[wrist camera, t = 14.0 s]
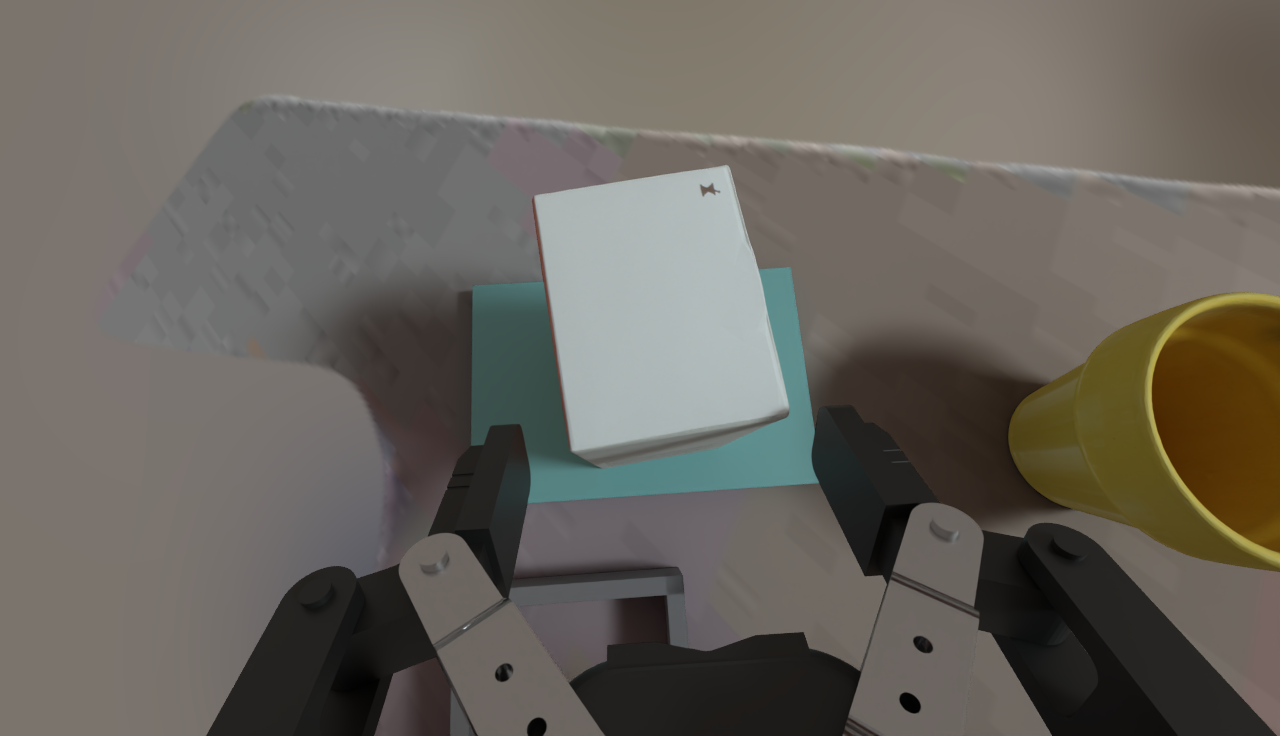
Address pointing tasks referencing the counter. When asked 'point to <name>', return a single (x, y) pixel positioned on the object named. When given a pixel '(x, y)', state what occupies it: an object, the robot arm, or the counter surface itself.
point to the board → (530, 396)
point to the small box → (656, 317)
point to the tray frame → (597, 589)
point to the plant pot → (1170, 430)
